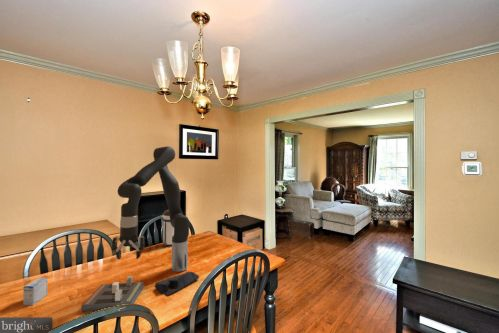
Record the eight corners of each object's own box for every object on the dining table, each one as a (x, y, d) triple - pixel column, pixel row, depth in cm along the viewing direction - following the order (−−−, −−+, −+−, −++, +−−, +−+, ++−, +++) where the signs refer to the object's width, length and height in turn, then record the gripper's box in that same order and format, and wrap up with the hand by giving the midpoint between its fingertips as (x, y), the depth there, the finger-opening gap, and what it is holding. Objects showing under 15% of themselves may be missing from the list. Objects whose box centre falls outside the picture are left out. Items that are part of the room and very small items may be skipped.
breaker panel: (143, 287, 117) (143, 274, 117) (131, 308, 101) (131, 292, 101) (101, 290, 114) (101, 276, 114) (81, 312, 98) (81, 295, 98)
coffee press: (170, 249, 171) (170, 209, 170) (157, 244, 179) (157, 207, 179) (188, 242, 185) (188, 206, 185) (175, 239, 194) (175, 204, 193)
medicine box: (37, 295, 109) (37, 277, 109) (47, 295, 110) (47, 277, 110) (22, 305, 102) (22, 286, 102) (33, 305, 102) (33, 286, 102)
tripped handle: (118, 290, 109) (118, 282, 109) (116, 293, 106) (116, 284, 106) (114, 290, 109) (114, 282, 108) (112, 293, 106) (112, 284, 106)
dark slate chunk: (203, 281, 125) (203, 273, 125) (165, 298, 109) (165, 288, 109) (187, 272, 136) (187, 264, 136) (151, 286, 119) (151, 277, 119)
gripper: (147, 222, 113) (146, 255, 114) (117, 223, 112) (116, 255, 112) (141, 226, 106) (141, 261, 106) (109, 227, 104) (108, 262, 105)
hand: (128, 258), depth 109 cm, fingers open, 8 cm apart
